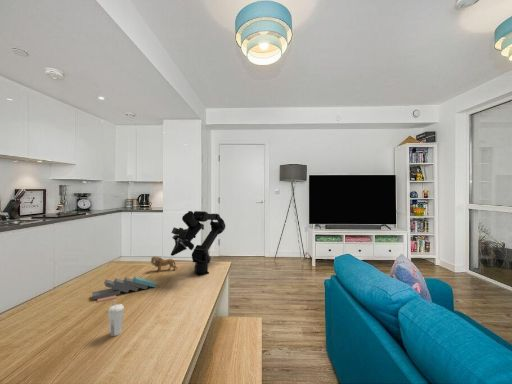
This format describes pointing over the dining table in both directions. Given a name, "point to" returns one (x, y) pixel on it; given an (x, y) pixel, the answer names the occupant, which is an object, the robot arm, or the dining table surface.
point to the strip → (106, 298)
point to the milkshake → (115, 319)
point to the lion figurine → (162, 263)
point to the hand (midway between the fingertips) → (171, 255)
